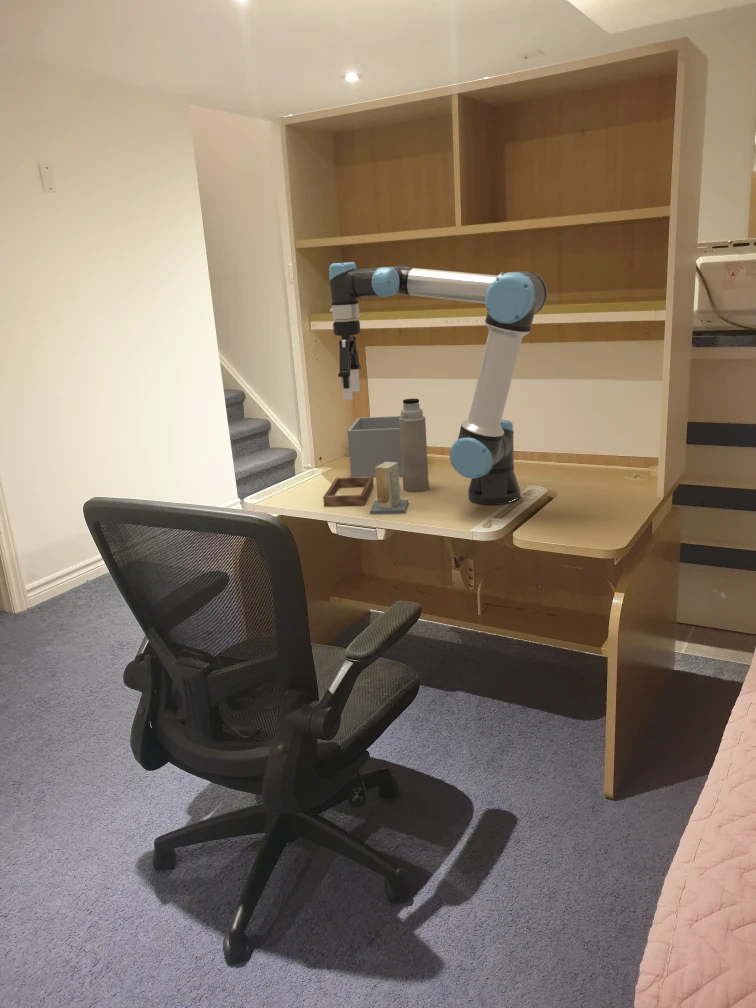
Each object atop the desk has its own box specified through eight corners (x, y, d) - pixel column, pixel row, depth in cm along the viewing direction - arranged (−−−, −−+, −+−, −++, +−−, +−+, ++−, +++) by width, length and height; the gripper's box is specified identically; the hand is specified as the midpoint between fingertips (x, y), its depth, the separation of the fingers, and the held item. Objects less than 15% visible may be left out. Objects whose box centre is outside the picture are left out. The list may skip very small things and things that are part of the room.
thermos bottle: (415, 483, 247) (410, 396, 239) (434, 487, 242) (429, 398, 234) (398, 489, 242) (392, 400, 234) (416, 493, 237) (411, 402, 228)
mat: (408, 502, 228) (408, 499, 228) (405, 513, 219) (405, 509, 218) (374, 503, 229) (374, 500, 229) (370, 514, 220) (369, 510, 220)
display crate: (421, 459, 277) (419, 415, 272) (416, 475, 256) (414, 428, 252) (361, 461, 280) (357, 417, 276) (351, 477, 260) (347, 430, 255)
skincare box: (388, 501, 227) (385, 461, 224) (401, 502, 225) (398, 461, 221) (377, 507, 222) (374, 466, 218) (390, 509, 220) (387, 467, 216)
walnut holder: (373, 485, 248) (372, 476, 247) (364, 505, 228) (363, 495, 228) (336, 486, 250) (336, 477, 249) (324, 506, 230) (323, 496, 229)
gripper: (340, 317, 229) (346, 389, 236) (324, 324, 206) (331, 403, 212) (365, 316, 228) (370, 388, 235) (352, 323, 205) (358, 402, 211)
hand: (351, 395), depth 223 cm, fingers open, 13 cm apart
